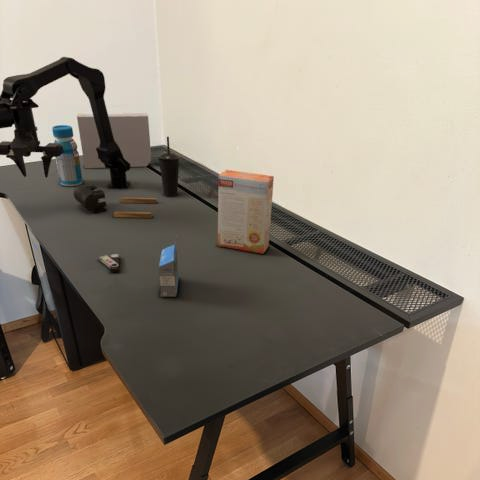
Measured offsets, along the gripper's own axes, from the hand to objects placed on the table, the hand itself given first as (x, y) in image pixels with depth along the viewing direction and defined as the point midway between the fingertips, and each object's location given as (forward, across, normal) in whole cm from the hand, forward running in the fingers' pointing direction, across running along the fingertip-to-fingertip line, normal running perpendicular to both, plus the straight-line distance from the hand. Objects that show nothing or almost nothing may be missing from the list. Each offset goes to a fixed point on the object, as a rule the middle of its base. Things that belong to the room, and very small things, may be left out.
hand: (35, 176), depth 145 cm
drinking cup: (+10, +41, +16) cm, 45 cm away
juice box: (+10, +47, -50) cm, 70 cm away
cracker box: (+10, +66, -26) cm, 72 cm away
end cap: (+10, +16, 0) cm, 19 cm away
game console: (+10, +16, +49) cm, 52 cm away
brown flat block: (+10, +31, 0) cm, 33 cm away
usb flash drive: (+10, +30, -39) cm, 51 cm away
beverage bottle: (+10, +3, +25) cm, 27 cm away
